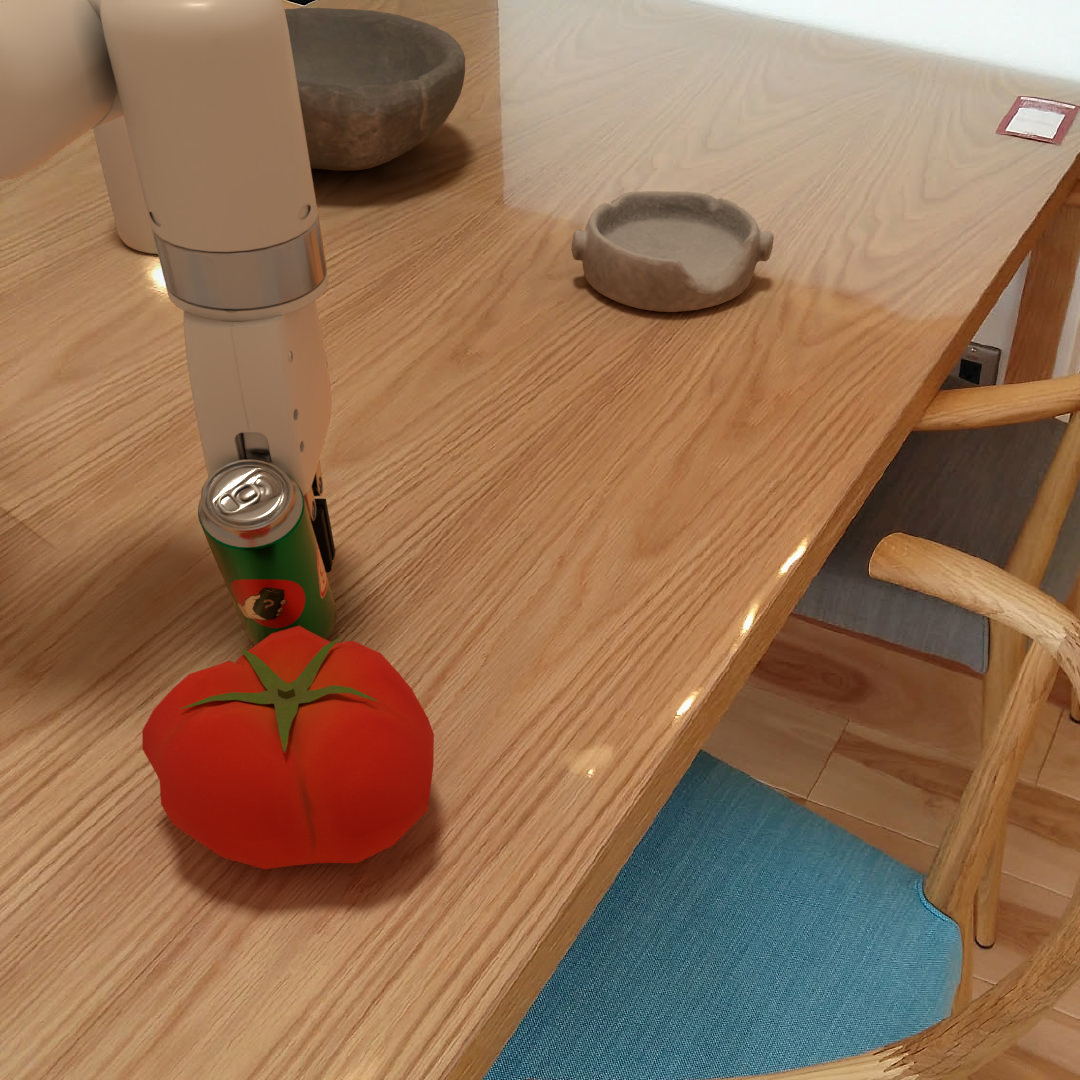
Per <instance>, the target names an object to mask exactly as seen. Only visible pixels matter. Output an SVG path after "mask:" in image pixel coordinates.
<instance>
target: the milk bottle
mask: <svg viewBox="0 0 1080 1080" xmlns="http://www.w3.org/2000/svg"><path fill="white" fill-rule="evenodd" d="M92 131H93V136H94V139H95V143H96V144H95V145H96V149H97V152H98V157H99V162H100V165H101V169H102V173H103V177H104V183H105V186H106V190H107V194H108V199H109V203H110V208H111V211H112V215H113V219H114V224H115V227H116V231H117V234H118V236H119V238H120V239H121V241H122V242H123V243H124V244H125V245H126V246H127V247H129V248H131V249H133V250H135V251H138V252H141V253H147V254H152V255H153V254H155V255H158V252H157V248H156V244H155V240H154V235H153V231H152V226H151V223H150V219H149V215H148V211H147V207H146V203H145V199H144V195H143V191H142V187H141V183H140V179H139V175H138V171H137V167H136V163H135V159H134V155H133V151H132V147H131V142H130V138H129V134H128V130H127V126H126V122H125V118H124V115H123V116H121V117H119V118H117V119H114V120H111V121H109V122H107V123H104V124H102V125H100V126H97V127H95V128H93V129H92Z"/></svg>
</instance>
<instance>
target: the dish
mask: <svg viewBox="0 0 1080 1080" xmlns="http://www.w3.org/2000/svg"><path fill="white" fill-rule="evenodd" d="M774 238H775V237H774V234H773V232H772V231H770V230H766V231H761V229H760V227H759V225H758V223H757V221H756V219H755V217H753V216H752V214H751V213H750V212H749V211H747V210H746V209H745V208H743V207H741V206H739V205H738V204H737V203H735V202H734V201H731V200H729V199H726V198H721V197H720V198H717V197H714V196H712V195H710V194H707V193H702V192H694V191H671V190H669V191H668V190H664V191H663V190H662V191H661V190H652V191H651V190H650V191H648V190H647V191H629V192H624V193H623V194H622V195H620V196H619V197H617V198H615V199H612V201H611V202H610V203H607V202H603V203H601V204H600V205H598V206H597V208H595V209H594V210H593V211H592V213H591V214H590V216H589V219H588V220H587V223H586V225H585V229H584V230H581V229H576V230H575V231H574V232H573V234H572V240H571V254H572V258H573V259H574V260H575V261H581V262H582V270H583V274H584V277H585V280H586V281H587V283H588V284H589V285H590V286H591V287H592V289H594V290H595V291H596V292H597V293H599V294H601V295H603V296H604V297H606V298H608V299H610V300H612V301H615V302H617V303H619V304H622V305H624V306H628V307H631V308H636V309H640V310H644V311H645V310H646V311H652V312H653V311H654V312H662V313H677V312H678V313H679V312H691V311H698V310H703V309H707V308H710V307H714V306H718V305H721V304H724V303H726V302H729V301H731V300H733V299H735V298H736V297H738V296H740V295H741V294H742V293H744V292H745V291H746V290H747V288H748V287H749V286H750V284H751V281H752V279H753V275H754V273H755V270H756V266H757V264H758V263H759V262H767V261H768V260H769V259H770V258H771V254H772V252H773V246H774Z"/></svg>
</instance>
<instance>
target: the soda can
mask: <svg viewBox="0 0 1080 1080" xmlns="http://www.w3.org/2000/svg"><path fill="white" fill-rule="evenodd" d="M200 493H201V494H200V499H199V501H198V506H197V516H198V521H199V524H200V527H201V529H202V531H203V534H204V536H205V539H206V541H207V544H208V545H209V548H210V550H211V553H212V555H213V558H214V560H215V562H216V565H217V567H218V570H219V572H220V575H221V577H222V579H223V582H224V585H225V586H226V589H227V592H228V594H229V597H230V599H231V601H232V603H233V606H234V609H235V610H236V613H237V615H238V618H239V620H240V622H241V625H242V627H243V630H244V632H245V635H246V637H247V638H248V639H249V641H250V642H251V643H252V644H253V646H255V645H257V644H258V643H260V642H261V641H262V640H264V639H265V638H266V637H268V636H269V635H271V634H272V633H275V632H279V631H282V630H286V629H289V628H293V627H296V626H301V627H303V628H304V629H306V630H308V631H310V632H312V633H314V634H316V635H318V636H320V637H322V638H324V639H326V640H328V638H329V637H330V635H331V634H332V632H333V630H334V628H335V625H336V623H337V617H338V614H337V613H338V612H337V607H336V602H335V599H334V595H333V592H332V589H331V585H330V581H329V578H328V575H327V574H328V573H326V571H325V568H324V564H323V561H322V557H321V554H320V551H319V547H318V544H317V540H316V537H315V533H314V530H313V527H312V523H311V520H310V516H309V513H308V509H307V506H306V503H305V499H304V496H303V493H302V491H301V489H300V487H299V486H298V484H297V483H296V482H295V481H294V480H293V479H292V478H291V477H290V476H288V475H287V474H286V473H285V472H284V471H283V470H282V469H281V468H279V467H278V466H277V465H275V464H273V463H271V462H268V461H265V460H260V459H240V460H235V461H232V462H229V463H227V464H225V465H223V466H221V467H219V468H218V469H216V470H215V471H214V472H213V473H212V474H211V475H210V476H209V477H208V476H207V478H206V480H205V482H204V484H203V486H202V488H201V492H200Z"/></svg>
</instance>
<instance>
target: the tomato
mask: <svg viewBox="0 0 1080 1080" xmlns="http://www.w3.org/2000/svg"><path fill="white" fill-rule="evenodd" d="M342 637H343V635H340V636H339V637H337V638H336V639H333V640H332V641H329V640H328V639H324V638H322V637H320V636H318V635H316V634H314V633H312V632H310V631H308V630H306V629H304V628H303V627H301V626H296V627H293V628H289V629H286V630H282V631H279V632H275V633H272V634H271V635H269V636H268V637H266V638H265V639H264V640H262V641H261V642H260V643H258V644H257V645H253V646H252V647H251V648H250V649H248V650H246V649H243V648H240V649H239V650H240V651H241V653H242V655H240V656H239V657H238V659H236V660H235V662H234V661H231V660H226V661H224V662H222V663H219V664H216V665H212V666H209V667H206V668H203V669H200V670H197V671H194V672H192V673H188V675H186V676H185V677H184V678H183V679H182V680H181V681H179V682H178V683H177V684H176V685H175V686H174V687H173V688H171V690H170V691H169V692H168V693H166V695H165V696H164V697H163V699H162V700H161V701H160V702H159V703H158V704H157V705H156V707H154V709H152V712H151V714H149V715H150V716H149V717H148V719H147V721H146V723H145V724H144V727H143V728H142V731H141V732H142V733H141V734H142V735H141V736H142V737H141V738H142V739H141V740H142V742H141V743H142V744H141V745H142V746H141V747H142V751H143V753H144V755H145V757H146V758H147V760H148V761H149V764H150V765H151V767H152V768H153V770H154V772H155V775H156V777H157V778H158V780H159V792H160V793H159V794H160V805H161V807H162V808H163V809H164V812H165V814H166V816H167V817H168V819H169V821H170V822H171V825H174V826H175V827H176V828H178V829H179V830H180V831H182V832H183V833H185V834H186V835H187V836H189V837H191V838H192V839H193V840H195V841H196V842H198V843H200V845H202V846H204V847H206V848H207V849H209V850H211V851H212V852H213V853H215V854H216V855H217V856H220V857H221V858H223V859H226V860H230V861H234V862H237V863H240V864H244V865H248V866H251V867H255V868H258V869H261V870H270V869H277V868H284V867H294V866H305V865H312V864H359V863H360V862H363V861H364V860H367V859H369V858H371V857H373V856H375V855H376V854H379V853H382V852H383V851H386V850H388V849H390V848H391V847H393V846H395V845H396V844H397V843H398V842H399V841H400V840H401V839H402V837H403V836H404V835H405V834H407V832H408V831H409V830H410V829H411V828H412V827H413V826H414V825H415V824H416V823H417V822H418V821H419V820H420V819H421V818H422V817H423V816H424V815H425V814H426V812H427V811H428V808H429V803H430V797H431V790H432V789H431V787H432V780H433V771H434V761H435V760H434V756H435V754H434V752H435V734H434V731H433V728H432V725H431V722H430V719H429V717H428V716H427V713H426V712H425V710H424V708H423V706H422V704H421V703H420V701H419V700H418V698H417V696H416V693H415V692H414V691H413V689H412V687H411V686H410V685H409V684H408V682H407V681H406V680H405V679H404V678H403V676H402V675H401V674H400V673H399V672H398V671H397V670H396V669H395V667H394V666H393V665H392V664H391V662H390V661H389V660H388V659H387V658H386V657H385V656H384V655H383V654H382V653H381V652H379V651H377V650H374V649H372V648H370V647H368V646H365V645H363V644H362V643H360V642H357V641H355V640H347V641H341V642H339V641H340V640H341V638H342Z"/></svg>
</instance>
